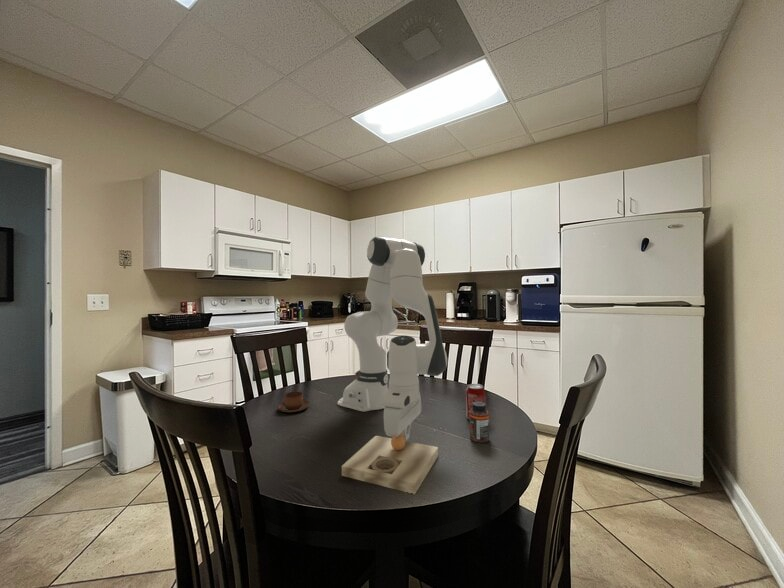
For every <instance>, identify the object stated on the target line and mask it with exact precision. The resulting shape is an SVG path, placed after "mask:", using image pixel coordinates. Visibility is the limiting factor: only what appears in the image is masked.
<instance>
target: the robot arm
mask: <svg viewBox="0 0 784 588" xmlns="http://www.w3.org/2000/svg"><path fill="white" fill-rule="evenodd" d="M366 254H367V255H366V256H367V260H368V261H369V263H370V264H371V267H370V270H369V274H368V278H367V284H366V288H365V292H364V293H365V294H364V295H365V298H366V300H368V301H369V302H370V307H371V308H370V310H369V311H366V310H365V311H357V312H355V313H352V314H349V315H348V316H347V317H346V319H345V321H344V326H343V327H344V331H345V334H346V335H347V336H348V337H349V338H350V339H351V340H352V341H353V342H354V344H355V345H356V347H357V350H358V357H359V370H357V371H355V372H354V377H355V378H356V379H354V380H353V381H352V382H350V384H348V385H347V386H346V387H345V388H344V389H343V393H342V397H341V398H339V400H338V401H337V406H341V407H343V408H349V409H352V410H355V411H359V412H369V411H375V410H376V411H377V410H382V409H383V427H384V428H383V429H384V433H385V434H386V435H387V436H388V437H392V438H393V437H398V436H399V435H401V436H403V438H404V439H405V441H408V439H410V436H411V435H410V431H411V427H412V423H413V421H414V420H415V419H416V418H417V417H418V416H419V415H420V414H421V412H422V400H421V393H420V381H419V380H420V379H419V377H418V375H427V376H433V377H438V376H440V375H441V374H442V373H444V371H446V370H447V366H448V356H447V355H448V354H447V352H446V349H445V347H444V343H443V338H442V334H441V329H440V328H441V327H440V324H439V319H438V318H439V317H438V314H437V309H436V306H435V301H434V299H433V297H432V295H431V294H429V293H427V291H426V290H425V288H424V287H425V286H424V284H423V283H424V282H423V269H422V268H423V267H422V266H423V265H424V262H425V259H426V252H425V248H424V247H423V246H422V245H421V244H420V243H417V242H412V241H408V240H406V239H401V238H394V237H393V238H391V237H384V236H375V237H373V238H371V240H370V241H369V243H368V245H367V248H366ZM393 300H394V301H395V302H396V304H398V305H400V306H401V307H403V308H406V309H409V310H412V311H415V312H417V313H419V314H420V315H422V316H423V317H424V320H425V324H426V328H427V334H428V339H429V341H428V342H427V343H417V341H416V339H415V338H414V337H413V336H410V335H399V336H397V335H396V336H394V337H393V338H391V339H390V341H389V349H388V351H387V352H386V350H385V349H384V348H383V347H382V346H380V345H379V343H378V338H377V337H382V336H387V335H390V334H391V333H392V334H393V333H394V332H395V331H396V330H397V328H398V325H399V320H398V316H397V315H396V313H394V312H395V311H394V310H393V304H392V303H393V302H392V301H393ZM388 371H389V375H388ZM388 377H389V378H388Z"/></svg>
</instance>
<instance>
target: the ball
mask: <svg viewBox="0 0 784 588" xmlns="http://www.w3.org/2000/svg"><path fill="white" fill-rule="evenodd" d="M391 445H392V447H393V448H394V449H395V450H401V449H403V447H404V446H405V439H404V438H403V436H401V435H399V436H398V437H392V439H391Z"/></svg>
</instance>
